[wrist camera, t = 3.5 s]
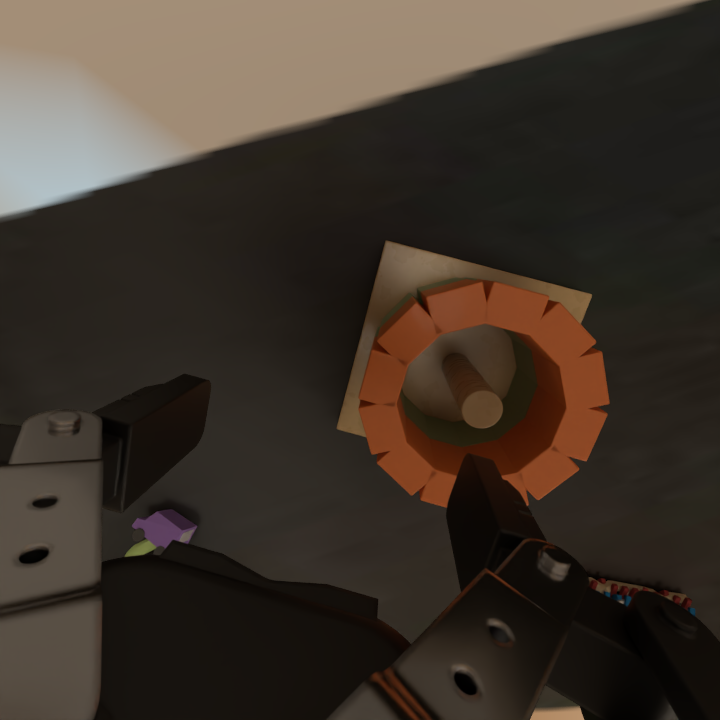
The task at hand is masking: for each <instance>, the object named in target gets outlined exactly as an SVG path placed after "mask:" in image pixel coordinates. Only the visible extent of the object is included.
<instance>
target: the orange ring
mask: <svg viewBox="0 0 720 720" xmlns="http://www.w3.org/2000/svg"><path fill="white" fill-rule="evenodd" d="M421 297H422V301H423V305H424V307H423V306H422V305H421V304H420V303H419V302H418V301H417V300H416V299H415V298H414V297H411V298H410V299H409V300H408V301H407V302H406V303H405V304H404V305H403V306H402V307H401V308H400V309H399V310H398V311H397V312H396V313H395V314H394V315H393V316H392V317H391V318H390V319H389V320H388V321H387V322H386V323H385V324H384V325H383V326H382V327H381V328H380V330H379V334H378V337H377V336H376V337H375V338H374V341H373V345H372V348H371V352H370V356H369V359H368V363H367V367H366V370H365V374H364V378H363V381H362V385H361V389H360V393H359V396H358V398H359V399H361V400H360V404H359V408H358V410H359V413H360V417H361V420H362V424H363V427H364V430H365V434H366V437H367V441H368V444H369V448H370V451H371V454H377V453H378V454H377V463H378V464H379V465H380V466H381V467H382V468H383V469H384V470H385V471H386V472H387V473H388V474H389V475H390V476H391V477H392V478H393V479H394V480H396V481H397V482H398V483H399V484H400V485H401V486H402V487H403V488H404V489H405V490H406V491H407V492H408V493H409V494H410V495H413V494H414V493H416V492H417V491H418V490H419V493H420V500H421V501H425V502H429V503H432V504H436V505H439V506H443V507H446V508H447V504H448V500H449V497H450V494H451V491H452V488H453V486H454V483H455V480H456V477H457V474H458V472H459V469H460V466H461V463H462V461H463V458H464V457H465V455H466V454H467V453H470V454H474V455H478V456H481V457H485V458H488V459H492V460H493V461H494V462H495V464H496V466H497V468H498V470H499V472H500V474H501V476H502V478H503V479H504V480H507V481H509V482H510V483H511V484H512V485H513V486H514V487H515V488H516V489H517V490H518V491H519V492H520V493H521V495H522V497H523V499H524V501H525V503H526V505H529V503H528V498H527V493H526V489H527V490H528V491H529V492H530V493H531V494H532V495H533V496H534V497H535V498H536V499H537V500H539V499H541V498H542V497H543V496H545V495H546V494H547V493H549V492H550V491H552V490H553V489H554V488H556V487H557V486H558V485H560V484H561V483H562V482H564V481H565V480H566V479H568V478H569V477H570V476H572V475H573V474H574V473H576V472H577V471H578V470H579V467H578V466H577V465H576V464H575V463H574V462H573V461H572V460H571V459H570V457H572V458H576V459H580V460H583V461H587V459H588V457H589V455H590V453H591V450H592V448H593V446H594V444H595V441H596V439H597V437H598V435H599V432H600V430H601V428H602V426H603V424H604V421H605V419H606V417H607V413H606V412H604V411H603V410H602V409H600V408H599V407H597V406H602V405H606V404H609V396H608V390H607V383H606V376H605V370H604V363H603V356H602V352H601V351H599V350H596V349H594V348H591V347H592V346H593V345H594V344H595V343H596V340H595V339H594V338H593V337H592V336H591V335H590V334H589V333H588V332H587V331H586V330H585V329H584V327H583V326H582V325H581V324H580V323H579V322H578V321H577V320H576V319H575V318H574V317H573V316H572V315H571V313H570V312H569V311H568V310H567V309H566V308H565V307H564V306H563V305H562V304H561V303H560V302H557V301H552V300H549V296H548V295H545V294H541V293H537V292H534V291H530V290H526V289H522V288H518V287H515V286H511V285H507V284H503V283H499V282H496V281H489V280H481V279H477V280H476V281H475V280H469V279H464V280H461V281H457V282H453V283H450V284H446V285H442V286H439V287H435V288H431V289H428V290H424V291H421ZM482 324H488V325H492V326H495V327H499V328H503V329H507V330H510V331H514V333H515V334H516V335H517V336H518V337H519V338H520V339H521V340H522V341H523V342H524V343H525V344H526V345H527V346H528V347H529V348H530V349H531V352H532V357H533V362H534V368H535V373H536V378H537V384H538V386H537V388H536V391H535V393H534V396H533V398H532V401H531V403H530V406H529V408H528V411H527V414H526V416H525V418H524V419H523V420H521V421H520V422H519V423H518V424H516V425H515V426H514V427H513V428H511V429H510V430H509V431H508V432H507V433H505V434H504V435H503V436H502V437H500V438H499V439H498V440H494V441H489V442H484V443H480V444H475V445H470V446H465V447H459V446H456V445H452V444H448V443H445V442H441V441H437V440H434V439H430V438H429V437H428V436H427V435H426V434H425V433H424V432H423V431H421V430H420V429H419V428H418V427H417V426H416V425H415V424H414V423H413V422H412V421H411V420H410V419H409V418H408V417H407V416H406V415H405V412H404V408H403V405H402V401H401V397H400V392H401V389H402V385H403V382H404V379H405V375H406V372H407V369H408V365H409V364H410V363H411V362H412V361H413V360H415V359H416V358H417V357H418V356H419V355H420V354H421V353H422V352H423V351H424V350H425V349H426V348H427V347H428V346H429V345H431V344H432V343H433V342H434V341H435V340H436V339H437V338H438V337H439V336H440V335H443V334H447V333H451V332H455V331H459V330H462V329H466V328H470V327H474V326H478V325H482Z"/></svg>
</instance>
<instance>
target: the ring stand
mask: <svg viewBox="0 0 720 720" xmlns="http://www.w3.org/2000/svg"><path fill="white" fill-rule="evenodd" d="M455 277H456V278H463V279H464V277H467V278H474V279H481V280H489V281H496V282H499V283H503V284H507V285H511V286H515V287H518V288H522V289H526V290H530V291H534V292H537V293H541V294H545V295H548V296H549V300H552V301H557V302H560V303H561V304H562V305H563V306H564V307H565V308H566V309H567V310H568V311H569V312H570V313H571V315H572V316H573V317H574V318H575V319H576V320H577V321H578V322H579V323H580V324H581V322H582V319H583V317H584V314H585V312H586V310H587V307H588V305H589V302H590V300H591V297H592V294H589V293H585V292H581V291H577V290H574V289H570V288H566V287H562V286H558V285H555V284H551V283H547V282H543V281H539V280H535V279H532V278H528V277H524V276H520V275H516V274H513V273H509V272H505V271H501V270H497V269H494V268H490V267H486V266H482V265H478V264H475V263H471V262H467V261H463V260H459V259H456V258H452V257H448V256H444V255H440V254H437V253H433V252H429V251H425V250H421V249H418V248H414V247H410V246H406V245H402V244H399V243H395V242H391V241H385V244H384V248H383V252H382V256H381V259H380V263H379V267H378V271H377V275H376V279H375V282H374V286H373V290H372V294H371V298H370V302H369V305H368V309H367V313H366V317H365V321H364V325H363V328H362V332H361V336H360V340H359V344H358V348H357V351H356V355H355V359H354V363H353V367H352V371H351V374H350V378H349V382H348V386H347V390H346V394H345V397H344V401H343V405H342V409H341V413H340V417H339V420H338V424H337V429H339V430H342V431H346V432H349V433H353V434H357V435H360V436H364V437H366V434H365V430H364V427H363V424H362V420H361V417H360V413H359V410H358V408H359V404H360V400H361V399H359V398H358V396H359V393H360V389H361V385H362V381H363V378H364V374H365V370H366V367H367V363H368V359H369V356H370V352H371V348H372V345H373V341H374V338H375V334H376V331H377V328H378V326H379V327H380V326H381V322H382V319H383V318H384V317H385V316H386V315H387V314H388V313H389V312H390V311H391V310H392V309H393V308H394V307H395V306H396V305H397V304H398V303H399V302H400V301H401V300H402V299H403V298H404V297H405V296H406V295H407V294H408V293H412V294H413V295H414V296H415V297H416V298H417V300H418V301H419V296H418V292H417V288H418V287H422V286H425V285H429V284H433V283H436V282H440V281H444V280H447V279H451V278H455ZM419 302H420V301H419ZM516 369H517V365H516V360H515V355H514V350H513V345H512V340H511V337H510V336H509V335H508V334H507V333H506V332H505V331H504V330H503V329H502V328H499V327H495V326H492V325H488V324H482V325H478V326H474V327H470V328H466V329H462V330H459V331H455V332H451V333H447V334H443V335H440V336H439V337H438V338H437V339H436V340H435V341H434V342H433V343H432V344H431V345H429V346H428V347H427V348H426V349H425V350H424V351H423V352H422V353H421V354H420V355H419V356H418V357H417V358H416V359H415V360H413V361H412V362H411V363H410V364H409V365H408V369H407V372H406V375H405V379H404V382H403V385H402V390H403V393H404V395H405V396H406V397H407V398H408V399H409V400H410V401H411V402H412V403H413V404H414V405H415V406H416V407H417V408H418V409H419V410H420V411H421V412H422V413H423V414H424V415H428V416H432V417H435V418H439V419H443V420H446V421H450V422H457V421H462V420H465V421H466V423H468V424H469V425H470V426H472V427H475V428H487V427H490V426H492V425H494V424H495V423H497V422H498V420H499V419H500V417H501V415H502V412H503V404H502V401H501V400H502V399H503V398H505V397H506V396H507V393H508V390H509V388H510V385H511V382H512V380H513V377H514V374H515V372H516Z"/></svg>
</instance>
